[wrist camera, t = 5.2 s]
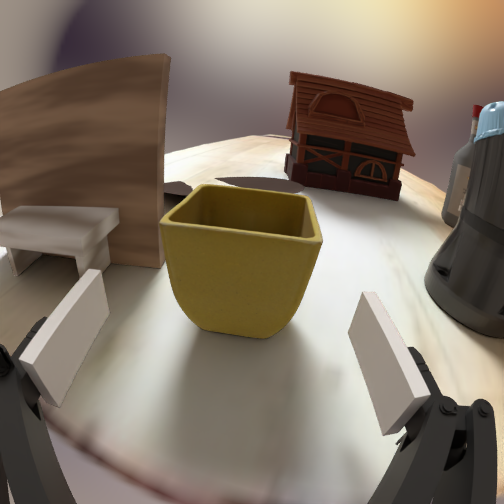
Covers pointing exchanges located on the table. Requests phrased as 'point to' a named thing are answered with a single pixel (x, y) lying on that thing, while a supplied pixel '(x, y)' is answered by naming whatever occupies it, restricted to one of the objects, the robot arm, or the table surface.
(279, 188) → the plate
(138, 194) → the cleat board
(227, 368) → the table surface
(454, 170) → the liquor
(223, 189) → the flower pot
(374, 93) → the house
